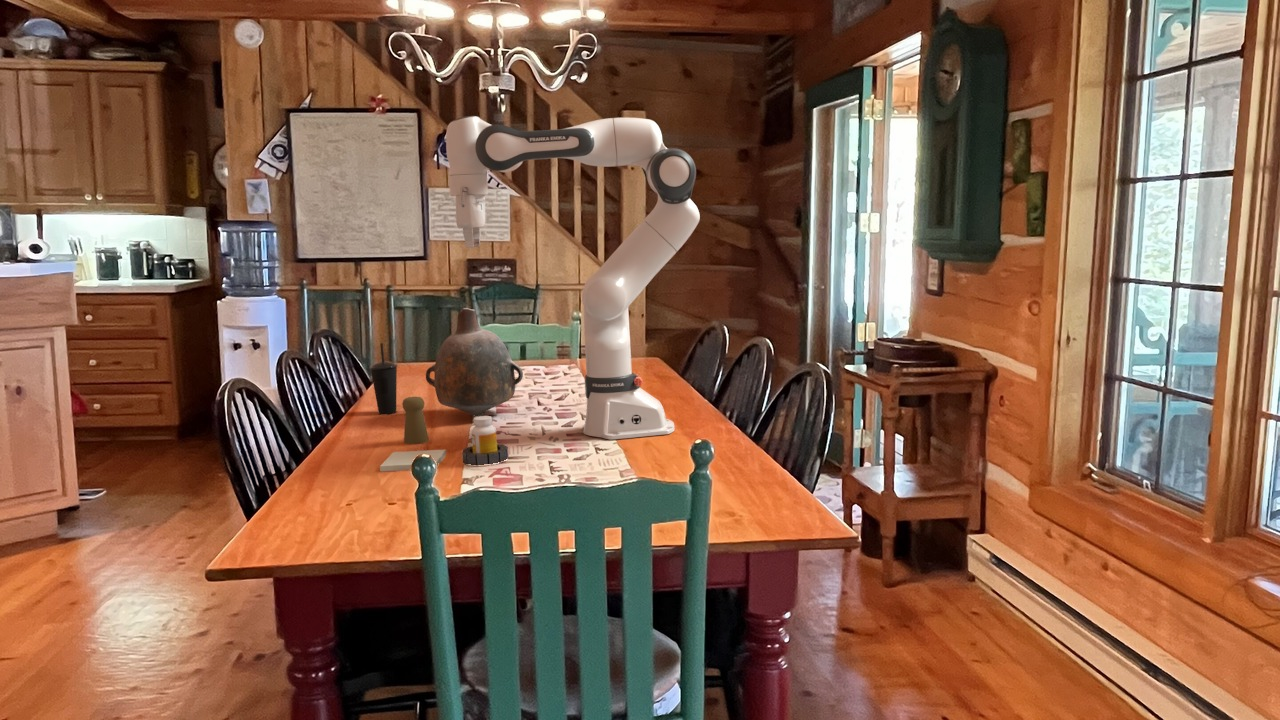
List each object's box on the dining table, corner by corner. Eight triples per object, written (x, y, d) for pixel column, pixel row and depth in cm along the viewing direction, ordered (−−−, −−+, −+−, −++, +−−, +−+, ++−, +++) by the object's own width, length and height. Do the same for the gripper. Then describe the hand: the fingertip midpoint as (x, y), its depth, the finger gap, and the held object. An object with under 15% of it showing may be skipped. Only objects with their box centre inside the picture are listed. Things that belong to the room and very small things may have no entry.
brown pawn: (422, 444, 221) (418, 399, 219) (399, 444, 222) (395, 399, 220) (433, 438, 226) (429, 394, 225) (410, 438, 228) (406, 394, 226)
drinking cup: (407, 411, 261) (401, 341, 258) (386, 416, 255) (380, 345, 252) (388, 409, 266) (382, 341, 262) (368, 414, 259) (361, 344, 256)
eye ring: (510, 453, 208) (509, 442, 207) (505, 464, 198) (504, 453, 198) (467, 455, 208) (466, 445, 207) (460, 467, 198) (459, 456, 197)
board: (446, 454, 209) (445, 449, 209) (436, 468, 198) (435, 463, 197) (393, 457, 209) (393, 452, 209) (380, 471, 197) (380, 466, 197)
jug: (512, 404, 264) (505, 301, 260) (530, 418, 244) (522, 306, 240) (426, 414, 256) (417, 307, 251) (437, 429, 236) (428, 313, 231)
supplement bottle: (502, 458, 204) (499, 415, 203) (489, 464, 199) (485, 420, 198) (482, 456, 206) (479, 414, 205) (468, 462, 202) (465, 419, 200)
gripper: (475, 185, 204) (480, 248, 206) (488, 188, 224) (492, 245, 226) (447, 187, 204) (451, 249, 206) (462, 190, 224) (466, 246, 226)
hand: (473, 247), depth 216 cm, fingers open, 8 cm apart
